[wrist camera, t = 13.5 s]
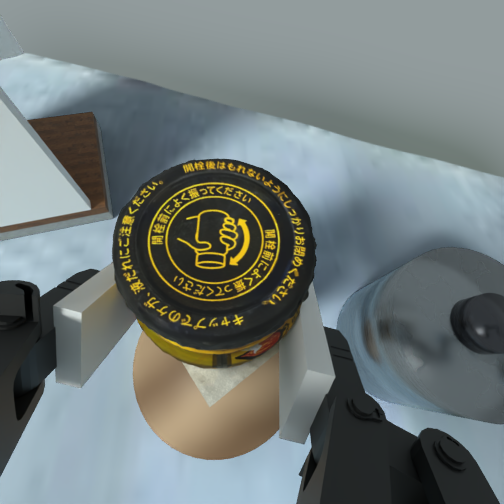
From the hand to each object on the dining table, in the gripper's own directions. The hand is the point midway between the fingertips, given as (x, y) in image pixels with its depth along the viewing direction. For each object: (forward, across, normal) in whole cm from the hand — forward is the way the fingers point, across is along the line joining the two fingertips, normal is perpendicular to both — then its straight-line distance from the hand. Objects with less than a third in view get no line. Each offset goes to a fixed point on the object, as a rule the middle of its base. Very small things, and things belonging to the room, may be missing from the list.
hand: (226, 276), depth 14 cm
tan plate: (+6, +1, -10) cm, 12 cm away
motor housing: (+9, +15, -7) cm, 19 cm away
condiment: (+3, +1, -4) cm, 5 cm away
